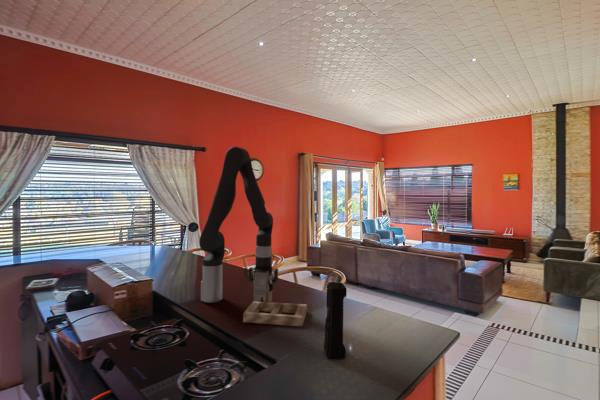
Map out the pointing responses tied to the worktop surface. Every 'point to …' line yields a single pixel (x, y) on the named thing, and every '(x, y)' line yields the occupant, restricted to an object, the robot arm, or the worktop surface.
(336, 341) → the portable radio
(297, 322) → the wooden divided tray
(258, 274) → the coffee box
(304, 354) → the worktop surface
